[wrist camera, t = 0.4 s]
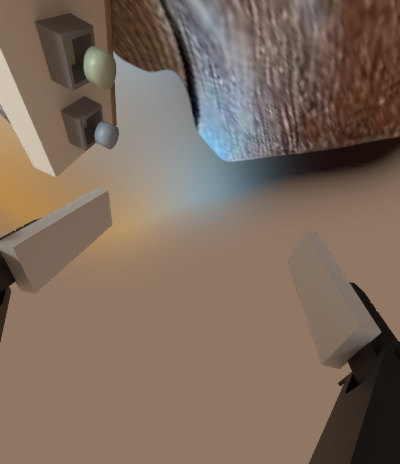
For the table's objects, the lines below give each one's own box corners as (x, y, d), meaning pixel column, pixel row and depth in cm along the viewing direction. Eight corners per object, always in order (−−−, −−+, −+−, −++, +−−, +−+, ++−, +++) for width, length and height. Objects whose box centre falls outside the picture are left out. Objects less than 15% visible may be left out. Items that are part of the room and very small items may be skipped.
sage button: (103, 77, 29) (86, 87, 26) (100, 42, 25) (80, 50, 23) (116, 84, 29) (100, 94, 27) (115, 50, 26) (97, 59, 23)
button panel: (84, 108, 45) (11, 156, 34) (13, -276, 17) (-516, -692, 6) (128, 130, 46) (72, 184, 35) (130, -197, 18) (-143, -430, 7)
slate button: (109, 136, 37) (96, 148, 35) (107, 116, 34) (93, 127, 31) (119, 141, 37) (107, 153, 35) (118, 122, 34) (104, 133, 32)
